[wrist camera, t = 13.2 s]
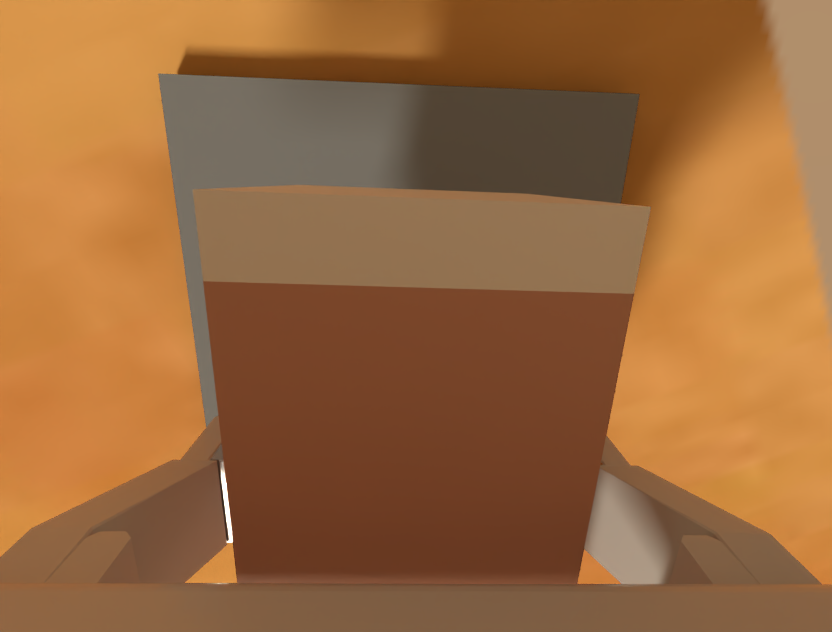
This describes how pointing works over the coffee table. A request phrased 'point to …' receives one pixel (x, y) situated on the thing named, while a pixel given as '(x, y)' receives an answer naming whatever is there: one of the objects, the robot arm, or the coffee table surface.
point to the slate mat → (382, 147)
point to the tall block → (413, 377)
